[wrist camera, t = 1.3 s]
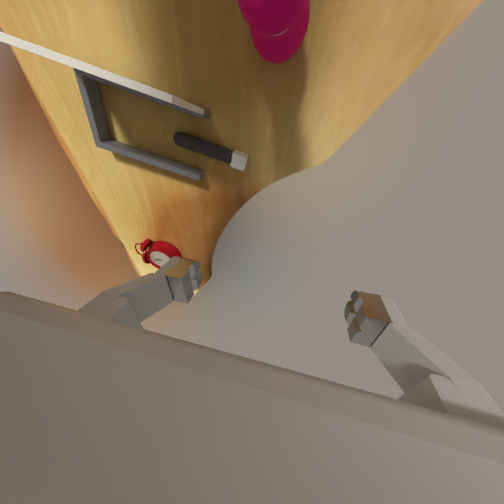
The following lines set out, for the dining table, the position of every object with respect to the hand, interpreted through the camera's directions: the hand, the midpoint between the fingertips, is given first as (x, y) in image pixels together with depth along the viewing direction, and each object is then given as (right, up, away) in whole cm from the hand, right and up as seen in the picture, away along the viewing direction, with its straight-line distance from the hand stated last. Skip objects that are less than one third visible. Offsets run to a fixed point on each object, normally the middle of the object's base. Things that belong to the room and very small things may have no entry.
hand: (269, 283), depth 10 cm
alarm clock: (-31, +2, +51) cm, 60 cm away
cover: (-20, +26, +16) cm, 36 cm away
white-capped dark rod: (-9, +23, +27) cm, 37 cm away
